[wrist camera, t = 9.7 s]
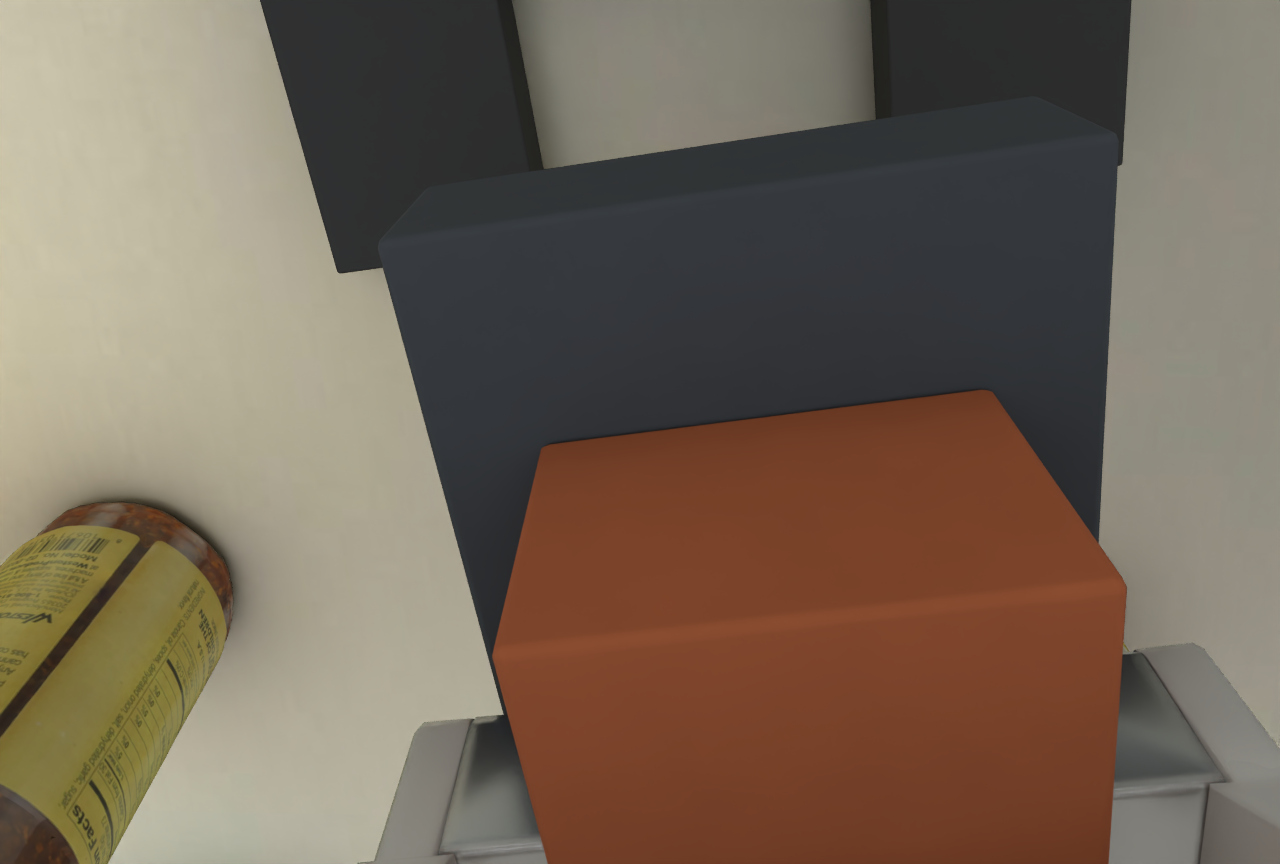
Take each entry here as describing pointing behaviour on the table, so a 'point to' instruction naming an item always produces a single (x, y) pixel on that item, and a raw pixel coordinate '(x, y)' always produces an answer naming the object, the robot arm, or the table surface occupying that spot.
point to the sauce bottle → (99, 672)
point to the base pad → (502, 113)
